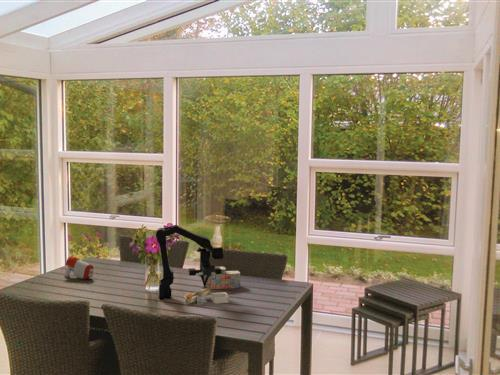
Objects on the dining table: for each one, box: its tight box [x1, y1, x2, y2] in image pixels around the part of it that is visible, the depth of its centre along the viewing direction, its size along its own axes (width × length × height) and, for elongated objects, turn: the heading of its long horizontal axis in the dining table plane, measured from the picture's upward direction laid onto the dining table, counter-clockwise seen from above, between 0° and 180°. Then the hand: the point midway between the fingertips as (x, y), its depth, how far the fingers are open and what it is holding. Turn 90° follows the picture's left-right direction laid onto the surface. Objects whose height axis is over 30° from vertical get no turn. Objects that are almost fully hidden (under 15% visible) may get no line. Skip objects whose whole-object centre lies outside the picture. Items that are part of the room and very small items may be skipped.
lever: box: [183, 285, 212, 305], centre depth 290 cm, size 14×14×3 cm
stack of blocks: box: [204, 266, 241, 290], centre depth 315 cm, size 21×6×12 cm, turn 103°
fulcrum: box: [193, 291, 205, 306], centre depth 287 cm, size 5×9×4 cm, turn 16°
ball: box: [185, 292, 193, 299], centre depth 285 cm, size 4×4×4 cm
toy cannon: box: [64, 256, 95, 281], centre depth 327 cm, size 6×20×14 cm, turn 69°
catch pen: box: [210, 291, 230, 305], centre depth 290 cm, size 9×9×3 cm
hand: (204, 285), depth 296 cm, fingers closed
